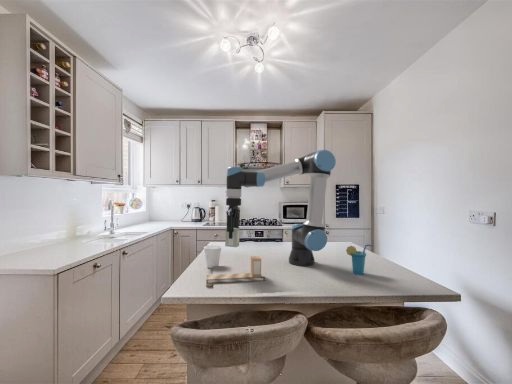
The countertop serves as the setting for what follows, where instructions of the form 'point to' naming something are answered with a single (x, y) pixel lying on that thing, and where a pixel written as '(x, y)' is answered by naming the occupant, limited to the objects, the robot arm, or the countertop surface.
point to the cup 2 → (357, 259)
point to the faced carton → (255, 266)
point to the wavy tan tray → (231, 278)
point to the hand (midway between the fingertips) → (232, 244)
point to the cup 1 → (212, 255)
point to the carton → (236, 238)
